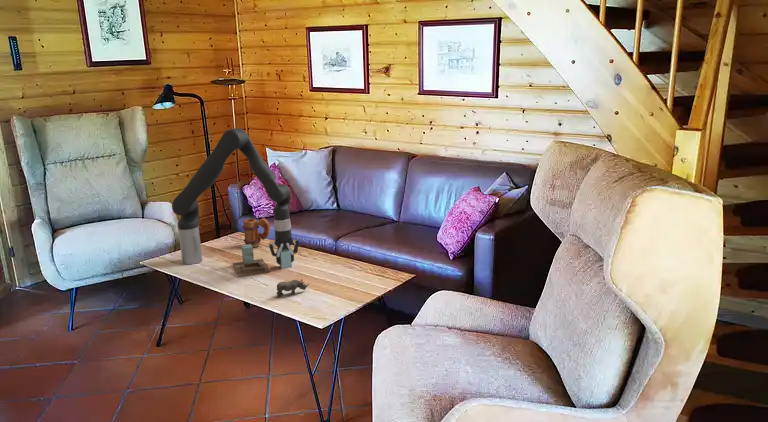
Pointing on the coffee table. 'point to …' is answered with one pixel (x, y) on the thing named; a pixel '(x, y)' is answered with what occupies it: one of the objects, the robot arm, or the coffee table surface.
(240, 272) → the walnut board
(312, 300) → the coffee table surface
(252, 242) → the mug
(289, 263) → the teal block
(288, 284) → the rhino figurine
